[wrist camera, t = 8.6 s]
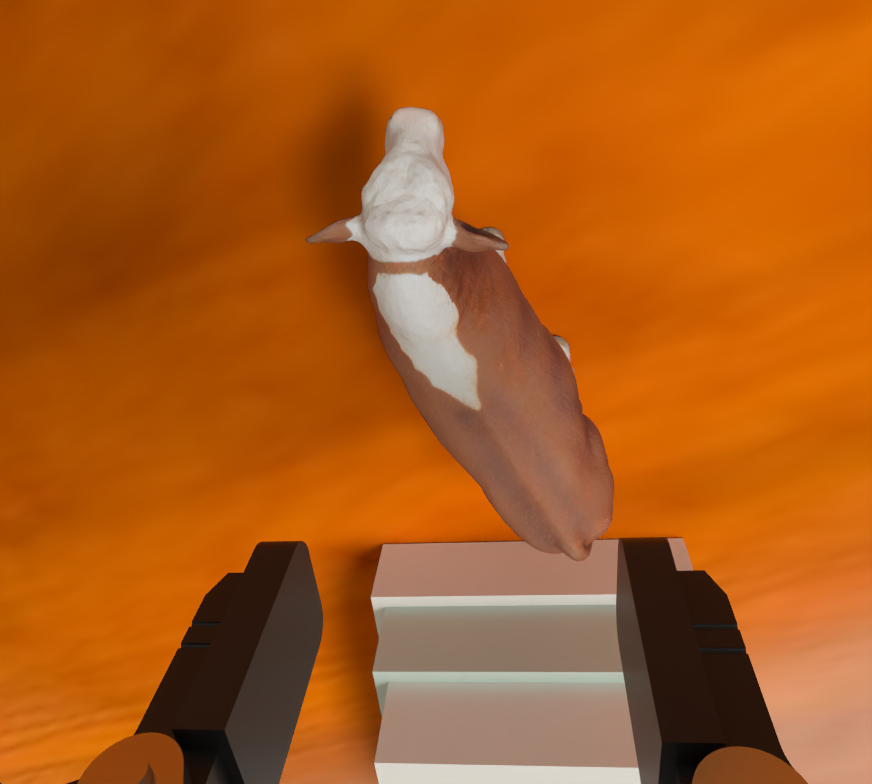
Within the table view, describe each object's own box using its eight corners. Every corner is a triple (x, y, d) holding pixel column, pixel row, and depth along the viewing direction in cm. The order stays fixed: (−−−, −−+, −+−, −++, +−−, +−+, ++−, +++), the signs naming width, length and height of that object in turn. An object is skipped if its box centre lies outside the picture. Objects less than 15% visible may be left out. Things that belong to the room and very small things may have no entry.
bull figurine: (463, 63, 21) (440, 96, 13) (613, 431, 26) (652, 593, 19) (333, 129, 22) (248, 190, 15) (502, 467, 27) (500, 632, 20)
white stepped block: (383, 544, 29) (337, 741, 22) (682, 537, 28) (751, 747, 20) (423, 771, 36) (399, 982, 29) (664, 776, 35) (709, 1001, 27)
